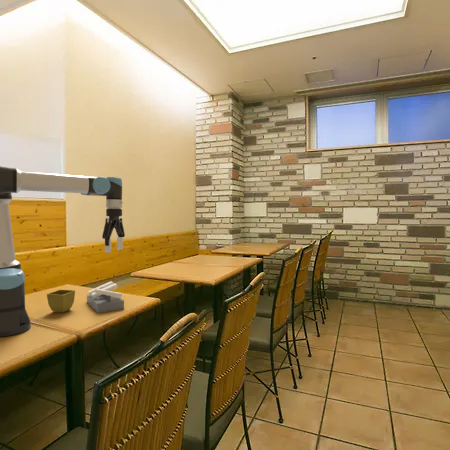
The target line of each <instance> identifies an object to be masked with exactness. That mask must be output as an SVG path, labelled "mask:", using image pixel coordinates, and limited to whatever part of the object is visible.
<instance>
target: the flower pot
mask: <svg viewBox="0 0 450 450" xmlns="http://www.w3.org/2000/svg"><path fill="white" fill-rule="evenodd" d="M75 294H76V290H74V289H73V290H72V289H58V290H55V291H52V292H49V293H46V297H47V298H46V300H47V303H48V306H49V308H50V310H51V311H52V312H53V313H60V314H61V313H62V314H63V313H65V312H67V311H69V310H71V309H72V307H73V304H74V302H75V296H76V295H75Z"/></svg>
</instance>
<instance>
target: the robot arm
mask: <svg viewBox="0 0 450 450" xmlns="http://www.w3.org/2000/svg"><path fill="white" fill-rule="evenodd" d="M122 179H123V178H121V177H117V176H107V177H106V176H101V175H99V176H88V175H87V176H86V175H85V176H84V175H72V174H59V173H45V172H35V171H33V172H32V171H21V170H19V169H18V168H16V167H14V168H13V167H6V166H0V338H1V337H8V336H14V335H18V334H21V333H24V332H26V331H28V330H30V328H32V325H31V324H32V322H31V319H30V316H29V314H28V312H27V309H26V294H25V293H26V291H25V290H26V288H25V286H26V285H25V281H26V279H25V278H26V277H25V272H24V271H23V270H22V267H21V262H20V261H18V260H17V259H16V252H15V243H14V234H13V228H12V221H11V213H10V205H9V204H10V203H11V201H13V196H12V194H13V193H14V194H18V193H20V192H21V191H25V192H43V193H44V192H45V193H47V192H49V193H50V192H51V193H64V194H65V193H67V194H69V193H70V194H80V195H81V196H82V195H83V196H90V197H91V196H93V197H94V196H96V197H98V196H99V197H105V199H106V200H105V207H106V210H105V212H106V214H105V216H106V217H105V221H104V223H105V224H104V227H103V232H102V240H104V253H105V254H106V253H107V254H108V253H109V254H110V253H112V239H111V237H112V234H113V232H114V231H113V230H114V229H115V232H116V235H117V237H116V250H117V251H122V250H123V248H124V245H123V244H124V241H123V240H124V238H125V236H126V235H125V228H124V225H123V223H124V222H123V218H122V216H123V209H122V208H123V203H124V202H123V180H122Z"/></svg>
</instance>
